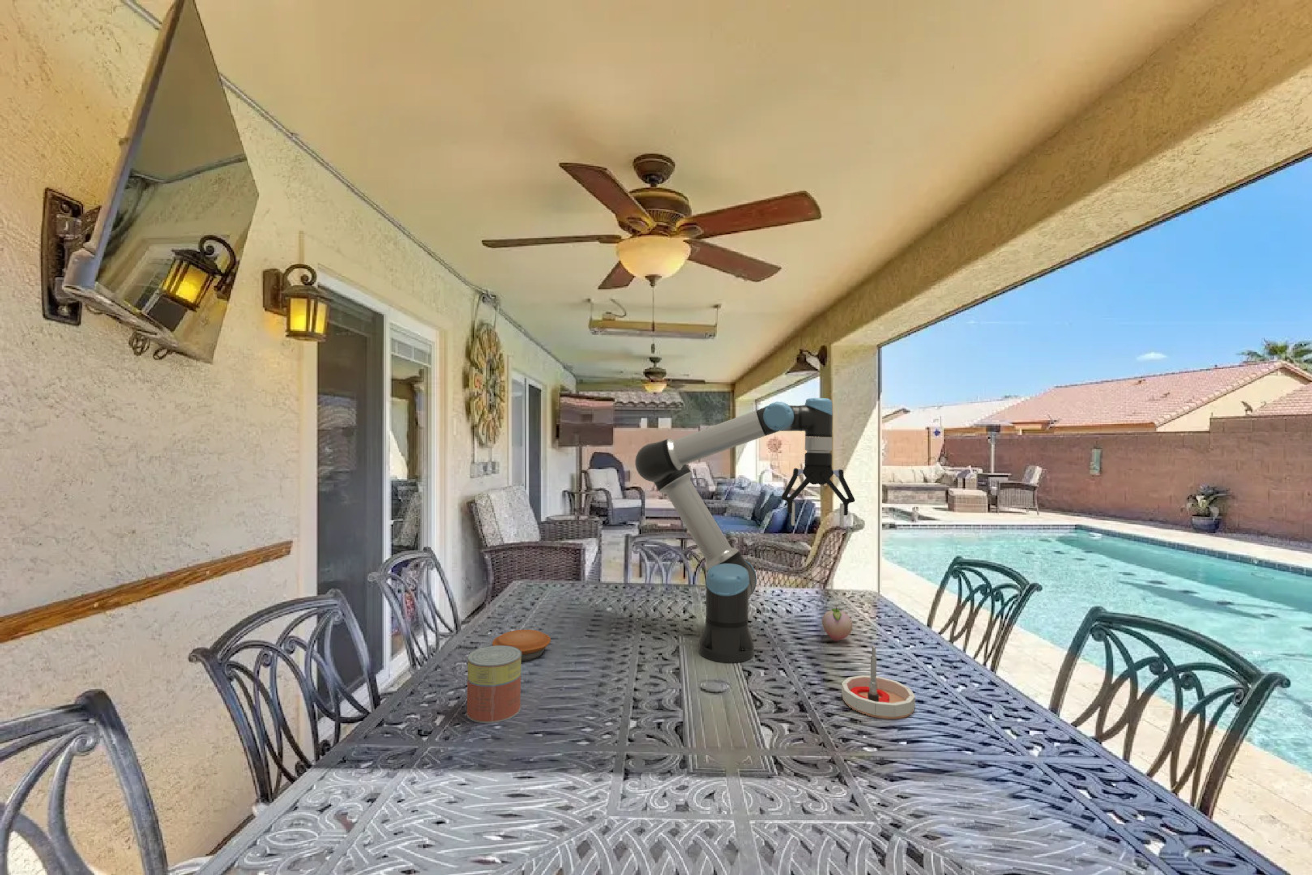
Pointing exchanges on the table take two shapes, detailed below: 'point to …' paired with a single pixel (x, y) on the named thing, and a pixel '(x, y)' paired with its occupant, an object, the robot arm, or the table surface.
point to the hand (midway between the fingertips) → (817, 525)
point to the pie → (524, 642)
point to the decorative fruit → (837, 624)
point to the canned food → (493, 684)
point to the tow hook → (872, 684)
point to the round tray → (898, 703)
